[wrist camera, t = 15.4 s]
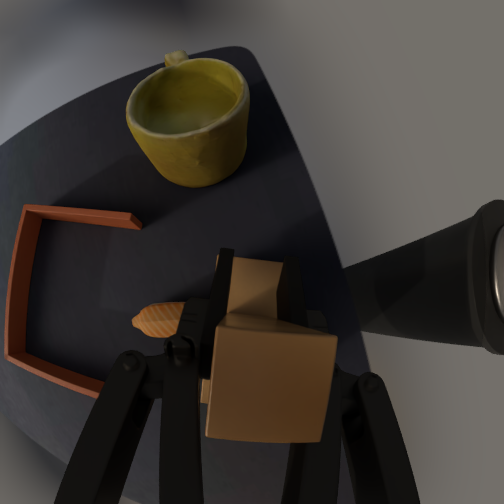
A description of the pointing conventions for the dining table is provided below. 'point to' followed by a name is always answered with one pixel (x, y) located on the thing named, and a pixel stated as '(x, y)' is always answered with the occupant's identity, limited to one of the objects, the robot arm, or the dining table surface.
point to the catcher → (21, 285)
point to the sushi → (159, 319)
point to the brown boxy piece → (266, 366)
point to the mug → (191, 119)
